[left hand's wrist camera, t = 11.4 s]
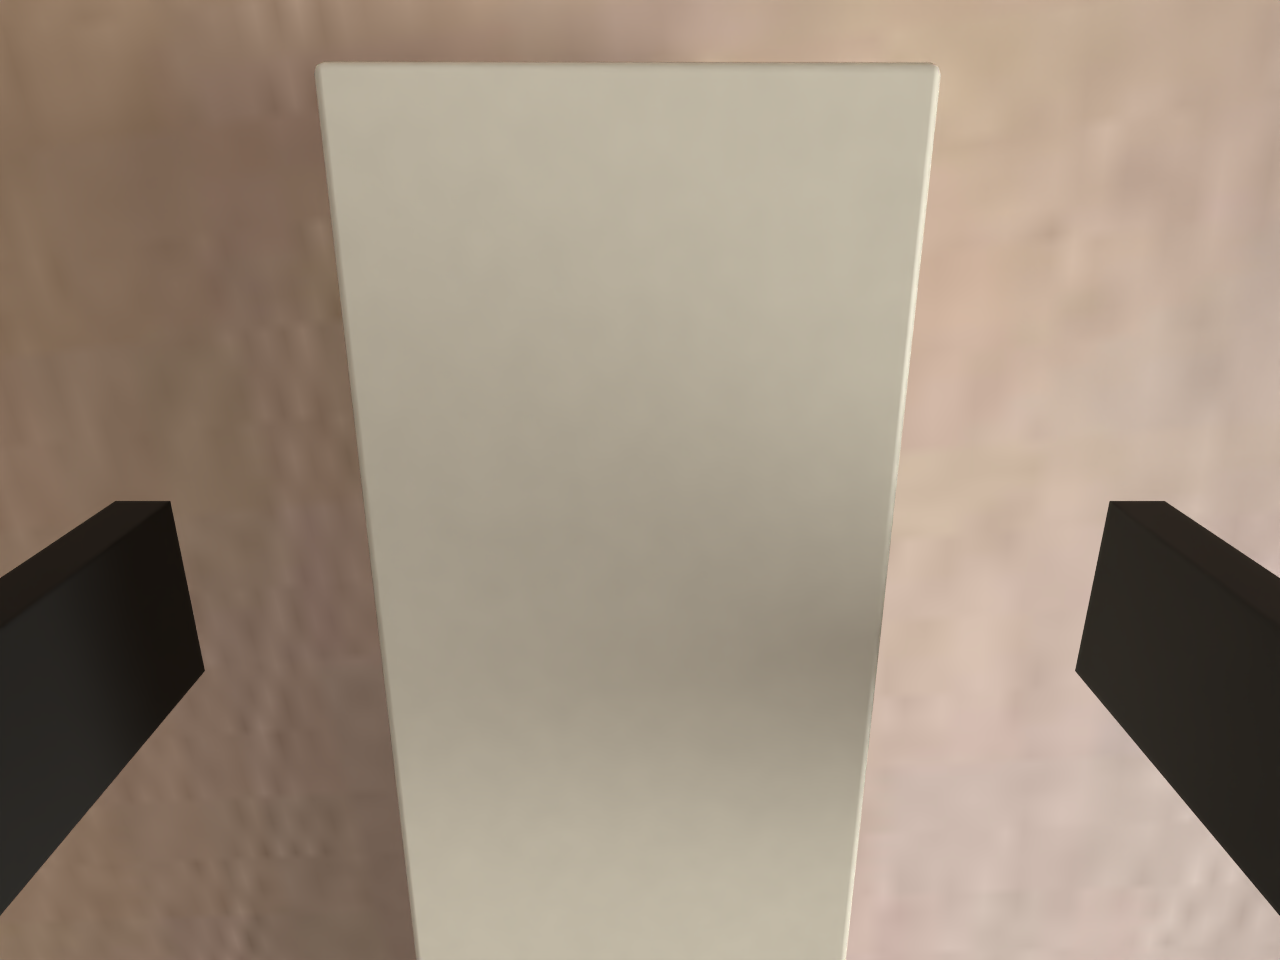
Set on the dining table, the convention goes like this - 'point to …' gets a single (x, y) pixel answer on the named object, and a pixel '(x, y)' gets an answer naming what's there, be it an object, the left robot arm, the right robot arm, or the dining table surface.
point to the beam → (628, 482)
